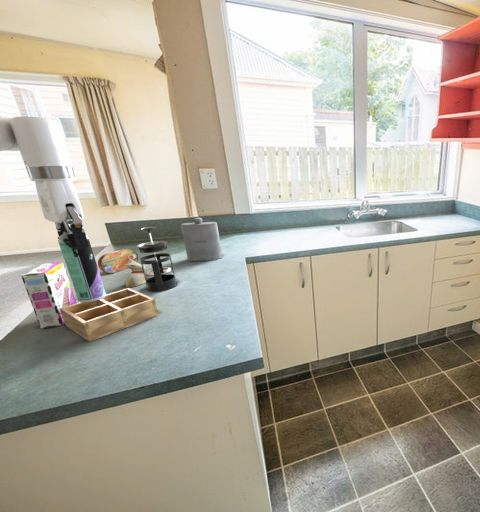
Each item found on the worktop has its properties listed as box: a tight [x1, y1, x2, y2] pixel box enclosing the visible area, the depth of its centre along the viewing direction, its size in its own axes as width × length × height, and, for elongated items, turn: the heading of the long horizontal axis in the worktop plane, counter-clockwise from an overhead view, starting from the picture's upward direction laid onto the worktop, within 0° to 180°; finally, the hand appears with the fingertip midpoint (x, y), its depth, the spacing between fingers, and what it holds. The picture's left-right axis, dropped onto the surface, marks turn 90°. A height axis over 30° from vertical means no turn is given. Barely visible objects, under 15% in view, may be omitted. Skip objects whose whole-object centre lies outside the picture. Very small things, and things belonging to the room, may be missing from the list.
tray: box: [60, 287, 159, 343], centre depth 88 cm, size 16×16×6 cm
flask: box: [180, 217, 223, 262], centre depth 141 cm, size 15×6×20 cm, turn 107°
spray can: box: [57, 226, 107, 303], centre depth 78 cm, size 6×6×20 cm
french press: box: [136, 226, 178, 293], centre depth 108 cm, size 12×9×23 cm
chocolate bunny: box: [125, 260, 147, 289], centre depth 113 cm, size 6×8×10 cm
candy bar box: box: [20, 261, 77, 330], centre depth 87 cm, size 11×5×16 cm, turn 27°
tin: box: [97, 248, 139, 274], centre depth 128 cm, size 15×3×8 cm, turn 168°
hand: (75, 246), depth 76 cm, fingers closed on spray can, 5 cm apart
